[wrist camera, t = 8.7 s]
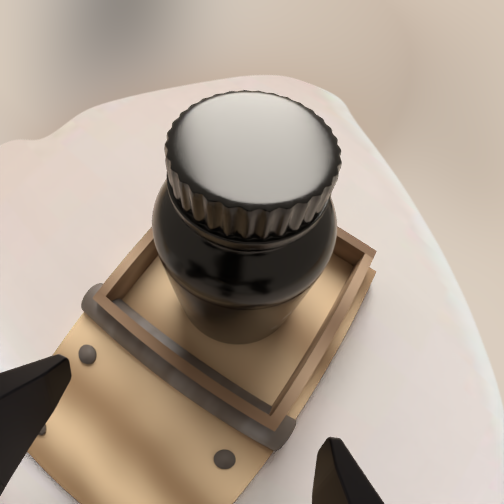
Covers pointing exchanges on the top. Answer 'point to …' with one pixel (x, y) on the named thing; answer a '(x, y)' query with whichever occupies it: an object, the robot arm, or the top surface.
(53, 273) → the top surface
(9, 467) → the robot arm
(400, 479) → the top surface
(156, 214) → the supplement bottle
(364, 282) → the hinge jig
